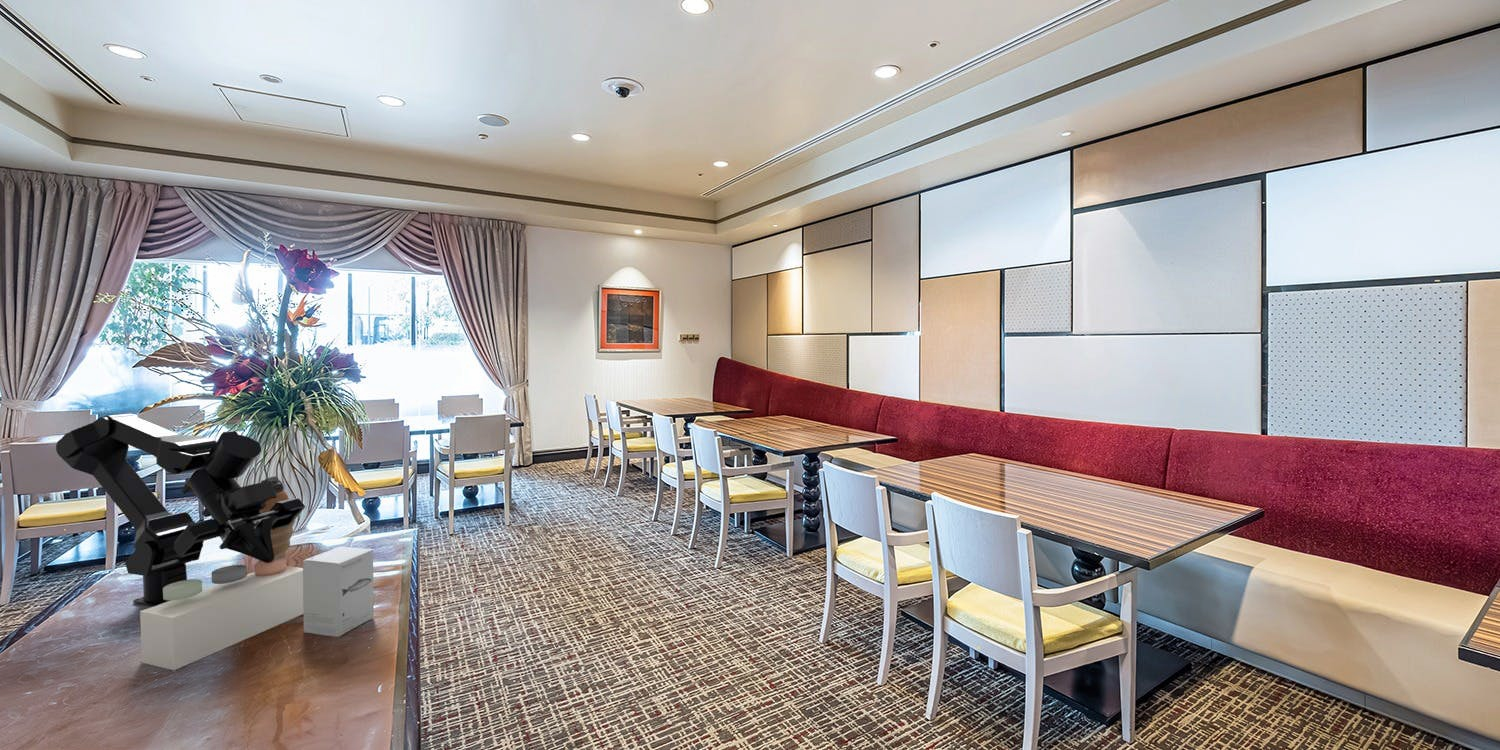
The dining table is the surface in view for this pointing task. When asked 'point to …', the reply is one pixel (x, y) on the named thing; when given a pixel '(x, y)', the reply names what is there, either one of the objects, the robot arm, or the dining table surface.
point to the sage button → (182, 589)
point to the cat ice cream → (280, 535)
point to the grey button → (229, 574)
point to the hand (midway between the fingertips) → (271, 560)
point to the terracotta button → (270, 567)
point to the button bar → (219, 617)
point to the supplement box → (338, 591)
